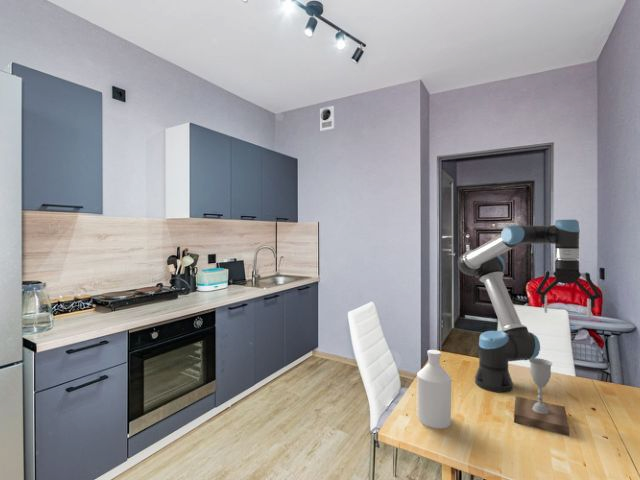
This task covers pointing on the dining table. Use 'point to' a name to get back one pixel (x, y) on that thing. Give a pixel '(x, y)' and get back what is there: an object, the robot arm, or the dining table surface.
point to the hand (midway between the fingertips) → (566, 314)
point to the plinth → (541, 416)
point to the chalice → (540, 380)
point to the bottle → (434, 393)
